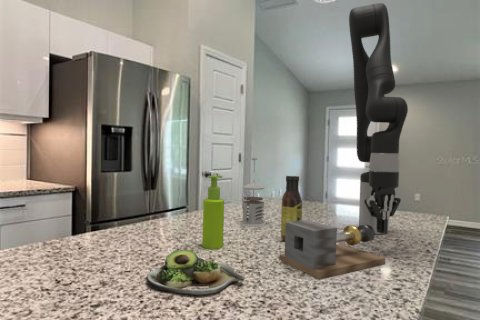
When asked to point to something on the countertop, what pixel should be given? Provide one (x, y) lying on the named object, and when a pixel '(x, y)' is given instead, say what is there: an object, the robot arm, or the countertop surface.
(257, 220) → the french press
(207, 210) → the soap dispenser
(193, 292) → the salad plate
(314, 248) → the bearing block
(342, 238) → the shaft
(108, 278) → the countertop surface
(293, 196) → the sauce bottle
